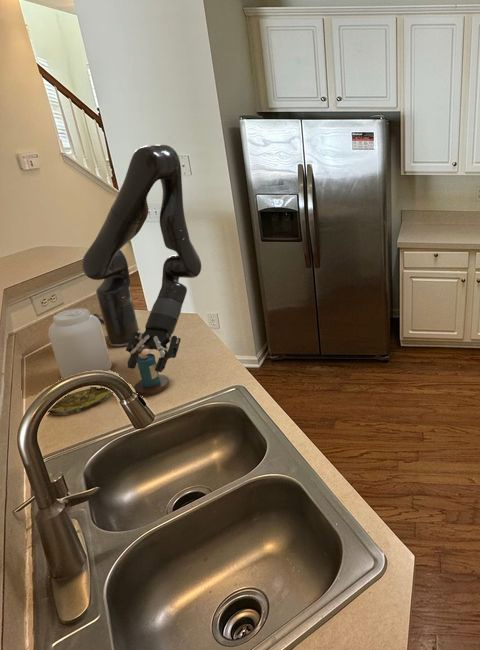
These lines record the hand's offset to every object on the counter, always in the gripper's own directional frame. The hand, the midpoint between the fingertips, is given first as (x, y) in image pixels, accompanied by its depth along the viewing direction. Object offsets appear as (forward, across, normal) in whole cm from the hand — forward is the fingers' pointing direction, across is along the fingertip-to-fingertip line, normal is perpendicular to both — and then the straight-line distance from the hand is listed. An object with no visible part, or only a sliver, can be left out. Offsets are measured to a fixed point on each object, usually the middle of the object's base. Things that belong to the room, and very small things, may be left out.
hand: (144, 369), depth 121 cm
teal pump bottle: (+3, 0, +5) cm, 5 cm away
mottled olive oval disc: (+11, -14, -1) cm, 18 cm away
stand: (+4, 0, +6) cm, 7 cm away
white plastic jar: (+2, -24, +8) cm, 26 cm away
